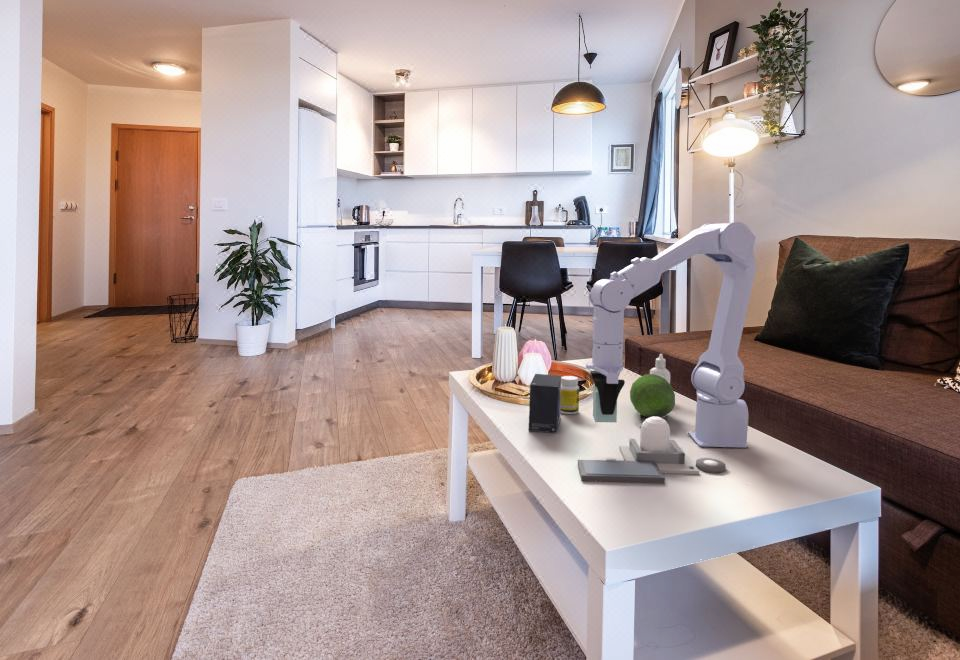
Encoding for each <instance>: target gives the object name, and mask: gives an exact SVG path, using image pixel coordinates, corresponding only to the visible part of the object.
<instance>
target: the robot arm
mask: <svg viewBox="0 0 960 660" xmlns="http://www.w3.org/2000/svg"><path fill="white" fill-rule="evenodd" d="M755 241H756V236H755V234H754V233H753V231H752V230H751V229H750V228H749V226H748V225H747V224H746V223H743V222H741V221H733V222H724V223H721V222H720V223H719V222H718V223H716V222H708V223H705V224H703V225H702V226H700V227H698V228H695V229H692V230H691V231H690V232H689V233H688V234H687V235H685V236H684V237H682V238H680V239H679V240H678V241H676V242H675V243H674V244H671V245H670V246H669V247H668V248H666V249H664V250H663V251H661V252H660V253H658V254H657V255H655V256H654V257H653V258H648V257H646V256H644V257H641V258H640V257H635V258H633V259H631V260H630V263H631V264H629V265H627V266H625V267H624V268H623V269H620V270H619V271H613V272H611V273H610V274H609V276H610V277H609V278H602V279H600V280H596V282H595V283H594V284H593V287H591V290H590V292H589V293H588V299H589V302H590V304H592V306H593V316H592V317H593V318H592V350H591V351H592V353H591V354H592V355H591V356H592V359H591V360H592V361H591V363H590V362H588V363H585V368H586V369H588V370H590V371H589V375H591V378H592V380H593V381H592V382H593V384H594V387H597V389H598V393H599V399H600V408H601V412H602V414H603V415H613V413H614V410H615V406H616V402H617V403H618V399H619V396H620V393H621V390H623V387H624V386H625V383H626V382H625V380H624V379H619V376H620V374H621V372H622V371H623V370H624V364H623V355H624V354H623V353H624V352H623V351H624V325H625V324H624V322H625V319H624V318H625V309H626V308H628V306H629V305H630V302H631V300H632V299H634V298H636V297H637V296H639V295H641V294H642V293H644V292H646V291H647V290H649V289H651V288H652V287H654V286H656V285H657V284H658V283H659V282H660V281H661V276H662V274H663V273H665V272H666V271H667V272H668V270H670V269H673V268H674V267H676V266H678V265H680V264H681V263H683V262H685V261H687V260H688V259H691V258H692V257H694V256H696V255H704V256H706V257H707V258H709V259H711V260H712V261H714V262H715V264H717V266H718V267H719V268H720V269H721V272H723V276H722V282H721V287H720V293H719V296H718V303H717V306H716V311H715V315H714V321H713V325H712V329H711V335H710V340H709V345H708V349H706V351H704V352H702V353H701V355H700V356H699V358H698V362H697V364H696V366H695V368H693V370H692V373H691V376H690V377H691V379H690V381H691V383H692V386H693V387H694V389H696V407H695V408H696V409H695V410H696V411H695V428H694V431H693V430H690V431H688V435H689V436H690V437H691V438H692V440H693V441H694V442H695V443H696V444H697V445H698V446H699V447H703V448H704V447H705V448H706V447H708V448H714V447H715V448H744V449H745V448H748V447H749V445H748V444H747V441H748V440H747V439H748V431H749V430H748V428H749V409H748V405H747V403H746V401H745V400H744V399H740V398H741V396H742V395H743V394H744V391H745V387H746V386H745V385H746V384H745V380H744V372H745V366H744V364H743V362H742V361H741V359H740V358H739V355H738V353H739V348H740V344H741V340H742V335H743V330H744V325H745V320H746V316H747V312H748V307H749V302H750V297H751V293H752V290H753V289H752V288H753V285H754V280H755V275H756V271H757V264H756V257H755V250H754V248H755V247H754V246H755Z"/></svg>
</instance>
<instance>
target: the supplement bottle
mask: <svg viewBox="0 0 960 660" xmlns="http://www.w3.org/2000/svg"><path fill="white" fill-rule="evenodd" d="M578 384H579V378H578V377H577V376H573V375H564V376H561V411H560V414H563V415H576V414H578V413H579V411H580V408H579V407H580V403H579V402H580V386H579V385H578Z"/></svg>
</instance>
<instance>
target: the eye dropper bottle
mask: <svg viewBox="0 0 960 660" xmlns="http://www.w3.org/2000/svg"><path fill="white" fill-rule="evenodd" d="M666 362H667V361H666V358H664V355H663V353H660V354H659V356H658V357H656V358H655V367H652V368H651V369H649V374H655V375H658V376H661V377H663V378H664V379H666V380H667V381H668V383H669V384H670V385H671V372H670V370H668V369H667V368H666V365H667V364H666Z"/></svg>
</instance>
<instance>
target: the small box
mask: <svg viewBox="0 0 960 660" xmlns="http://www.w3.org/2000/svg"><path fill="white" fill-rule="evenodd" d="M561 377H562V375H556V374H555V375H554V374H543V373H535V374H534V376H533V378H532V380H531V382H530V384H529V404H528V406H529V408H528V409H529V414H528V431H529V432H539V433H540V432H544V433H551V434H552V433H553V434H554V433H555V434H556V433H557V432H558V426H559V423H560V419H561V412H560V411H561Z"/></svg>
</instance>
